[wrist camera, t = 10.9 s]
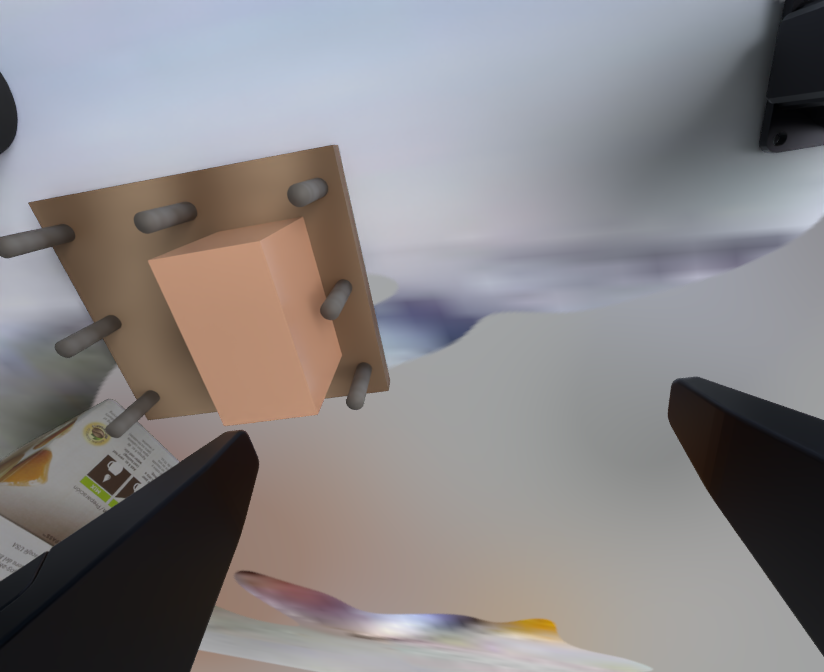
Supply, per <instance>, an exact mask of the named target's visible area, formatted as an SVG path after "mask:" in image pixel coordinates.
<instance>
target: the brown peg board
mask: <svg viewBox="0 0 824 672" xmlns="http://www.w3.org/2000/svg"><path fill="white" fill-rule="evenodd" d="M28 204H29V205H30V207H31V209H32V211H33V213H34V214H35V216H36V218H37V220H38V222H39V223H40V225H41V227H42V228H41V229H36V230H31V231H26V232H22V233H17V234H12V235H8V236H3V237H0V256H1V257H4V258H11V257H15V256H19V255H23V254H26V253H30V252H34V251H37V250H41V249H45V248H49V247H53V249H54V251H55V252H56V254H57V256H58V258H59V260H60V262H61V263H62V265H63V267H64V269H65V271H66V272H67V274H68V276H69V278H70V280H71V282H72V283H73V285H74V287H75V289H76V291H77V292H78V294H79V296H80V298H81V300H82V301H83V303H84V305H85V307H86V309H87V311H88V312H89V314H90V316H91V318H92V320H93V321H94V323H93V324H91V325H89V326H87V327H85V328H83V329H82V330H80V331H78V332H76V333H74V334H72V335H70V336H68V337H66V338H65V339H63V340H61V341H59V342H57V343H56V344H55V350H56V351H57V353H58V354H59V355H61V356H63V357H65V358H70V357H72V356H74V355H76V354H77V353H79V352H81V351H82V350H84V349H86V348H88V347H89V346H91V345H93V344H94V343H96V342H98V341H99V340H101V339H103V340H104V341H105V343H106V345H107V347H108V349H109V350H110V352H111V354H112V356H113V358H114V360H115V361H116V363H117V365H118V367H119V368H120V370H121V372H122V374H123V376H124V377H125V379H126V381H127V383H128V385H129V387H130V388H131V390H132V392H133V394H134V396H135V398H136V399H137V400H136V401H135V402H134V403H133V404H132V405H131V406H129V407H128V408H127V409H126V410H125V411H124V412H122V413H121V414H120V415H119V416H118V417H117V418H115V419H114V420H113V421H112V422H111V423H110V424H109V425H107V426H106V428H105V430H106V433H107V434H108V435H109V436H111V437H113V438H120V437H121V436H122V435H123V434H124V433H125V432H126V431H128V430H129V429H130V428H131V427H132V426H133V425H134V424H135V423H136V422H137V421H138V420H139V419H140V418H141V417H142V416H143V415H144V414H145V416H146V418H147V419H148V420H153V419H161V418H169V417H178V416H186V415H195V414H203V413H211V412H217V409H216V407H215V405H214V403H213V401H212V399H211V397H210V394H209V392H208V390H207V388H206V386H205V384H204V381H203V379H202V377H201V375H200V373H199V371H198V368H197V366H196V364H195V362H194V360H193V358H192V355H191V353H190V351H189V349H188V347H187V345H186V342H185V340H184V338H183V336H182V334H181V332H180V330H179V327H178V325H177V323H176V321H175V319H174V317H173V314H172V312H171V310H170V308H169V306H168V304H167V301H166V299H165V297H164V295H163V293H162V291H161V288H160V286H159V284H158V282H157V280H156V278H155V275H154V273H153V271H152V269H151V267H150V265H149V263H148V260H150V259H153V258H155V257H157V256H160V255H162V254H165V253H167V252H170V251H172V250H175V249H177V248H180V247H182V246H184V245H187V244H189V243H192V242H194V241H197V240H199V239H202V238H204V237H207V236H209V235H211V234H214V233H216V232H220V231H225V230H231V229H236V228H242V227H248V226H253V225H259V224H264V223H270V222H276V221H281V220H287V219H292V218H298V217H303V218H304V222H305V225H306V229H307V232H308V236H309V239H310V243H311V247H312V250H313V254H314V257H315V261H316V264H317V268H318V271H319V275H320V279H321V282H322V286H323V289H324V293H325V296H326V299H325V301H324V302H323V304H322V306H321V308H320V313H321V315H322V316H323V317H324V318H325V319H327V320H332V321H333V325H334V328H335V332H336V336H337V339H338V343H339V346H340V350H341V353H342V357H341V359H340V362H339V364H338V367H337V369H336V371H335V374H334V376H333V379H332V381H331V384H330V386H329V389H328V391H327V393H326V396H325V398H333V397H342V396H347V399H346V404H347V406H348V407H349V408H351V409H353V410H358V409H360V408H362V407H363V404H364V400H365V396H366V393H375V392H383V391H388V390H389V385H390V378H389V373H388V369H387V364H386V360H385V355H384V351H383V346H382V342H381V337H380V333H379V328H378V324H377V319H376V315H375V310H374V306H373V301H372V297H371V293H370V288H369V283H368V279H367V274H366V270H365V265H364V261H363V256H362V252H361V247H360V243H359V238H358V234H357V229H356V225H355V220H354V216H353V211H352V207H351V202H350V198H349V193H348V189H347V184H346V180H345V175H344V171H343V166H342V162H341V157H340V152H339V148H338V145H330V146H325V147H319V148H314V149H309V150H303V151H298V152H293V153H288V154H282V155H277V156H272V157H266V158H261V159H256V160H251V161H245V162H240V163H235V164H230V165H224V166H219V167H214V168H208V169H203V170H198V171H193V172H187V173H182V174H177V175H171V176H166V177H161V178H156V179H150V180H145V181H140V182H134V183H129V184H124V185H119V186H113V187H108V188H103V189H98V190H92V191H87V192H82V193H76V194H71V195H66V196H61V197H55V198H50V199H45V200H39V201H34V202H29V203H28ZM325 398H324V399H325Z"/></svg>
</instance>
